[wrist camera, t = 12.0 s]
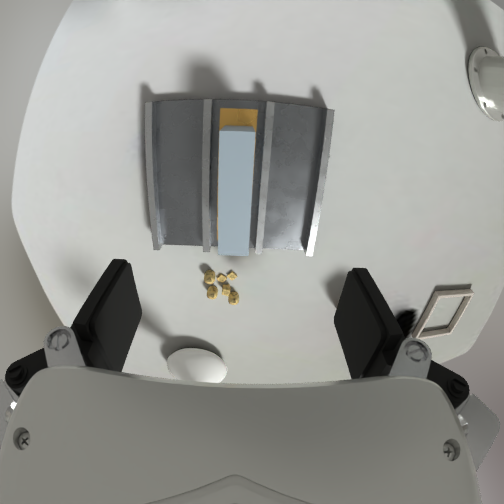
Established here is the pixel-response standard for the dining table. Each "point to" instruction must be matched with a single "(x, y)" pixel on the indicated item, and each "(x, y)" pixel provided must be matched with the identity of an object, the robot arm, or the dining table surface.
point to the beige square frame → (436, 296)
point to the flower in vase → (196, 365)
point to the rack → (264, 171)
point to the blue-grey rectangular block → (235, 189)
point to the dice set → (213, 290)
